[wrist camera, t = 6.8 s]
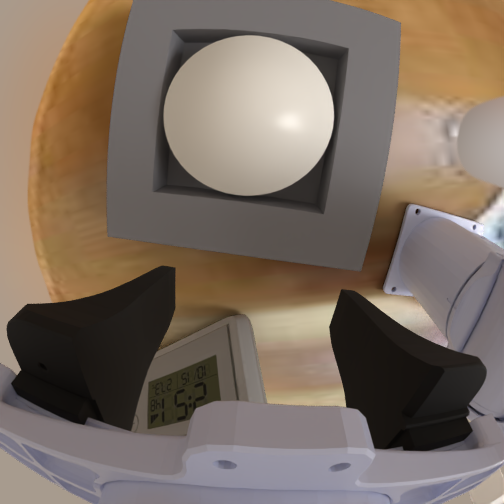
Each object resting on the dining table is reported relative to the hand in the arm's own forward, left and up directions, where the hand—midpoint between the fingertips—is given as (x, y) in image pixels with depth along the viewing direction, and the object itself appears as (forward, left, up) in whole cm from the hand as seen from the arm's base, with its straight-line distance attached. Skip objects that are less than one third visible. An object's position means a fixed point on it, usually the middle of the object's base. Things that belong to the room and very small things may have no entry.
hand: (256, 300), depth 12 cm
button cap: (+2, -8, -10) cm, 13 cm away
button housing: (+2, -8, -10) cm, 13 cm away
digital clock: (+5, +14, -11) cm, 18 cm away
